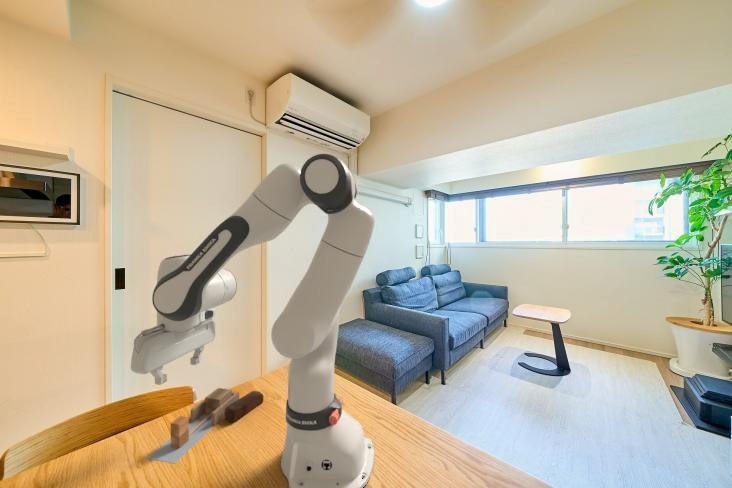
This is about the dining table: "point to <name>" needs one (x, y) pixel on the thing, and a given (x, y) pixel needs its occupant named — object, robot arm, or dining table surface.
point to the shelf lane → (197, 415)
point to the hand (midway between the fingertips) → (179, 372)
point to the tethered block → (181, 424)
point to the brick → (243, 406)
